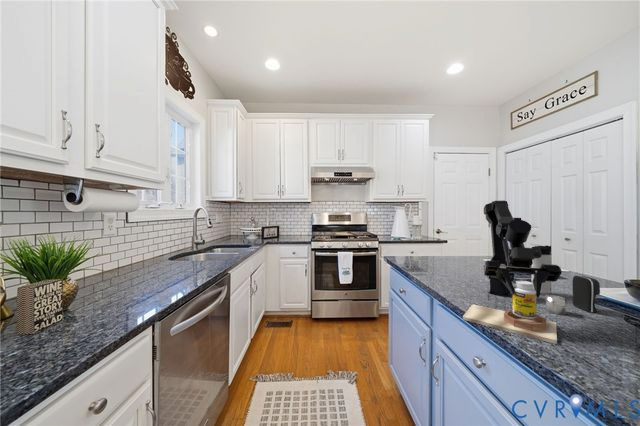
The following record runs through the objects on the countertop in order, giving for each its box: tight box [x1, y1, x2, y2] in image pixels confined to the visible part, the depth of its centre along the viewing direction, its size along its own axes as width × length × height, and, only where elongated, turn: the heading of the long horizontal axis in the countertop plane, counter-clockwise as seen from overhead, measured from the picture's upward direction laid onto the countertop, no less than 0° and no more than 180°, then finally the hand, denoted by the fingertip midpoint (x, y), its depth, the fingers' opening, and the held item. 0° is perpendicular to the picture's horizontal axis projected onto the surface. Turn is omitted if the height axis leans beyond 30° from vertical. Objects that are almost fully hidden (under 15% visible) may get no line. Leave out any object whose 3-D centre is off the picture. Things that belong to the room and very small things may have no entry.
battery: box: [572, 275, 601, 313], centre depth 87 cm, size 7×4×11 cm, turn 172°
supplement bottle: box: [512, 280, 537, 319], centre depth 75 cm, size 6×6×10 cm
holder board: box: [462, 303, 558, 345], centre depth 78 cm, size 22×14×3 cm, turn 47°
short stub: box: [545, 294, 567, 316], centre depth 86 cm, size 5×5×5 cm
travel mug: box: [531, 245, 552, 297], centre depth 104 cm, size 6×7×20 cm
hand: (525, 295), depth 74 cm, fingers closed on supplement bottle, 5 cm apart
